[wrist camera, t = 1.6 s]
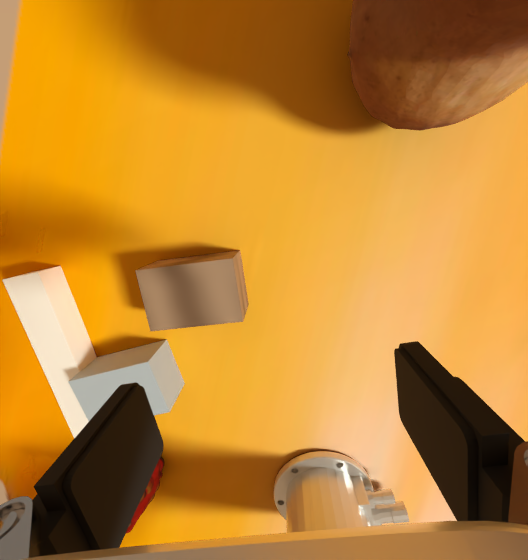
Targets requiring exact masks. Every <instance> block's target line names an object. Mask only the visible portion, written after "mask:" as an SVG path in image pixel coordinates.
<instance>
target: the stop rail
mask: <svg viewBox="0 0 528 560" xmlns="http://www.w3.org/2000/svg"><path fill="white" fill-rule="evenodd" d="M3 283H4V285H5V287H6V289H7V291H8V294H9V296H10V298H11V300H12V302H13V305H14V307H15V309H16V311H17V313H18V316H19V318H20V320H21V322H22V324H23V327H24V329H25V331H26V333H27V335H28V338H29V340H30V342H31V344H32V346H33V349H34V351H35V353H36V355H37V357H38V360H39V362H40V364H41V366H42V368H43V371H44V373H45V375H46V377H47V379H48V381H49V384H50V386H51V388H52V390H53V392H54V395H55V397H56V399H57V401H58V403H59V406H60V408H61V410H62V412H63V414H64V417H65V419H66V421H67V423H68V425H69V428H70V430H71V432H72V434H73V436H74V439H75V437H76V436H77V435H78V434H79V433H80V432H81V430H82V429H83V428H84V427H85V426H86V424H87V423H88V422H89V421H88V419H87V417H86V415H85V413H84V411H83V409H82V407H81V406H80V404H79V402H78V400H77V398H76V396H75V394H74V392H73V390H72V388H71V386H70V384H69V382H68V381H69V380H70V379H72V378H73V377H74V376H75V375H76V374H78V373H79V372H80V371H81V370H82V369H84V368H85V367H86V366H87V365H88V364H90V363H91V362H92V361H93V360H94V359H96V358H97V356H96V354H95V351H94V349H93V346H92V344H91V341H90V338H89V336H88V333H87V331H86V328H85V326H84V323H83V321H82V318H81V316H80V313H79V311H78V308H77V306H76V303H75V301H74V298H73V296H72V293H71V291H70V288H69V286H68V283H67V281H66V278H65V276H64V273H63V271H62V268H61V266H57V267H53V268H48V269H44V270H39V271H34V272H30V273H26V274H22V275H18V276H14V277H11V278H7V279H3Z"/></svg>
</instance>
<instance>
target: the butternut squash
mask: <svg viewBox="0 0 528 560" xmlns="http://www.w3.org/2000/svg"><path fill="white" fill-rule="evenodd" d="M348 57H349V58H350V64H351V75H352V82H353V85H354V87H355V89H356V91H357V93H358V95H359V97H360V99H361V101H362V103H363V105H364V107H365V108H366V109H367V111H368V112H369V113H370V115H371V116H372V117H374V118H376V119H378V120H380V121H382V122H384V123H385V124H387V125H389V126H390V127H392V128H396V129H410V130H425V129H431V128H437V127H443V126H448V125H452V124H455V123H458V122H460V121H463V120H465V119H468V118H470V117H472V116H474V115H476V114H478V113H480V112H482V111H484V110H486V109H488V108H490V107H491V106H493V105H495V104H497V103H499V102H500V101H502V100H504V99H505V98H506V97H507V96H509V95H510V94H512V93H513V92H514V91H516V90H517V89H519V88H520V87H522V86H523V85H524V84H526V83H527V82H528V0H353V6H352V15H351V24H350V48H349V52H348Z"/></svg>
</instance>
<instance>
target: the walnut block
mask: <svg viewBox="0 0 528 560" xmlns="http://www.w3.org/2000/svg"><path fill="white" fill-rule="evenodd" d="M135 272H136V275H137V279H138V283H139V287H140V291H141V295H142V299H143V303H144V307H145V311H146V315H147V319H148V323H149V327H150V331H158V330H167V329H177V328H186V327H195V326H205V325H214V324H224V323H233V322H243V320H244V317H245V314H246V311H247V307H248V298H247V291H246V285H245V278H244V272H243V266H242V259H241V253H240V250H237V251H229V252H222V253H214V254H206V255H198V256H190V257H183V258H175V259H167V260H159V261H156V262H153V263H151V264H149V265H147V266H144V267H142V268H140V269H138V270H135Z"/></svg>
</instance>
